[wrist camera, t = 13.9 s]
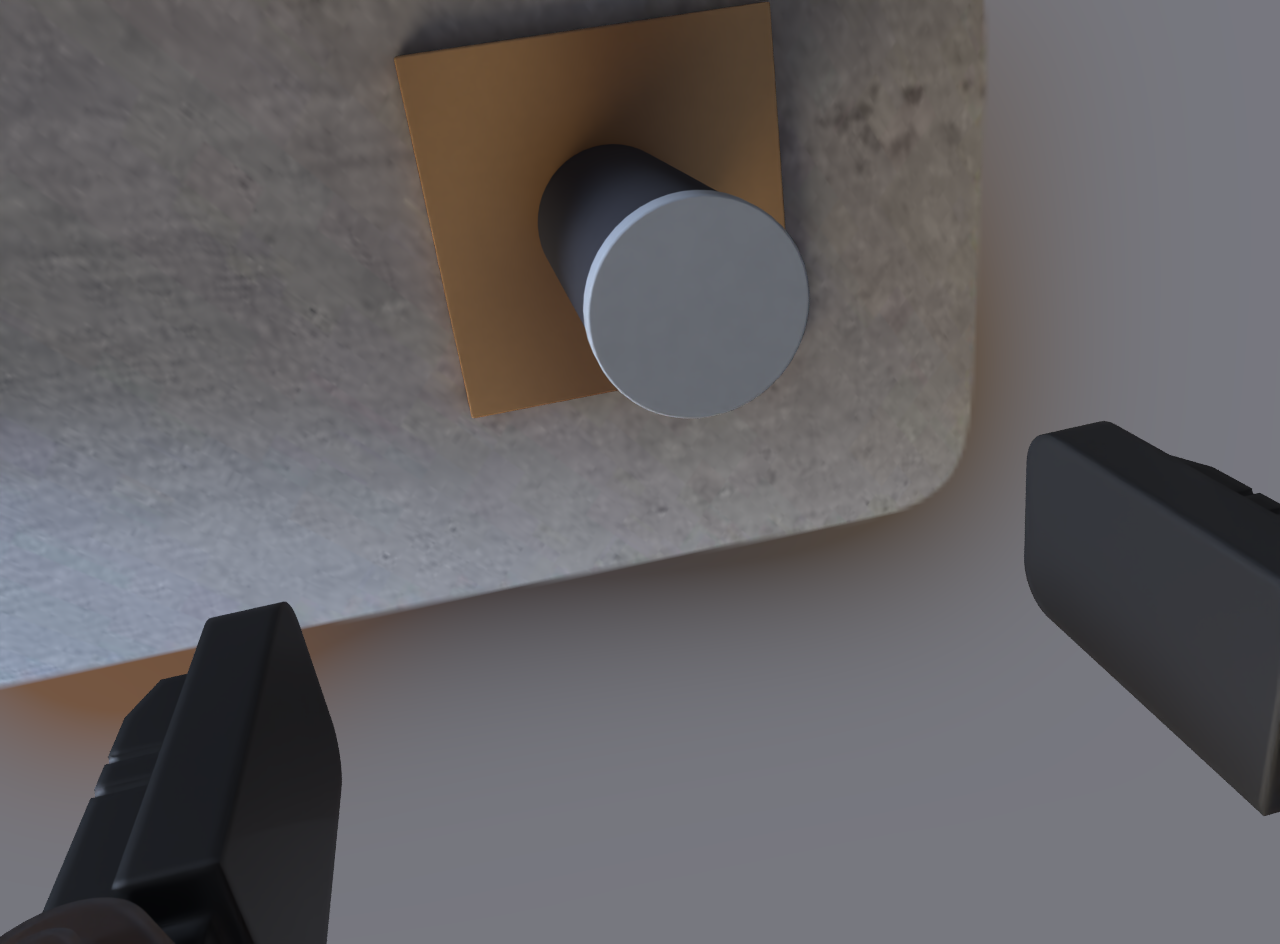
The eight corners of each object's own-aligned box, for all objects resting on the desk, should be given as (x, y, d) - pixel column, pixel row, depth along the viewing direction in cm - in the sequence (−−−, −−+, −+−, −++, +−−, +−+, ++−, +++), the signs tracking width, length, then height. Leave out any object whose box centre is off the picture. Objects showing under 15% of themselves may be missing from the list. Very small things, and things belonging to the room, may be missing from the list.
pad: (764, 1, 27) (770, 1, 27) (789, 352, 32) (794, 356, 31) (393, 56, 26) (393, 57, 26) (471, 413, 30) (472, 419, 30)
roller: (679, 128, 28) (803, 175, 19) (696, 284, 30) (816, 396, 21) (520, 153, 27) (570, 215, 18) (548, 311, 29) (605, 438, 20)
